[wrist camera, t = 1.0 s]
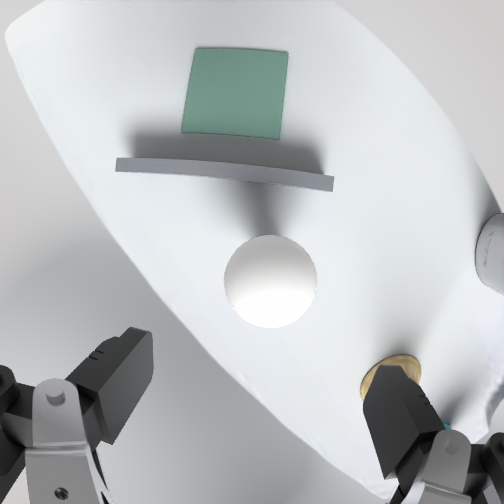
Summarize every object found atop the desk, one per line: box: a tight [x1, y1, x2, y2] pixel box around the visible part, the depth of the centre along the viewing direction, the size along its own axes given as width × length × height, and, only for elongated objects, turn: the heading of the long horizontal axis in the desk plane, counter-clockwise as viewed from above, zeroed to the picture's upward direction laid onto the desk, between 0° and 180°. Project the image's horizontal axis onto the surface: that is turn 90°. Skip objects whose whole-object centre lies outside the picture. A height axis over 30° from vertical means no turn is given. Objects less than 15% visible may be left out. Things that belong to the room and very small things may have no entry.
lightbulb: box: [224, 235, 317, 328], centre depth 21 cm, size 6×6×11 cm
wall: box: [115, 158, 334, 192], centre depth 23 cm, size 18×1×4 cm, turn 83°
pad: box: [181, 49, 289, 140], centre depth 23 cm, size 9×9×1 cm
